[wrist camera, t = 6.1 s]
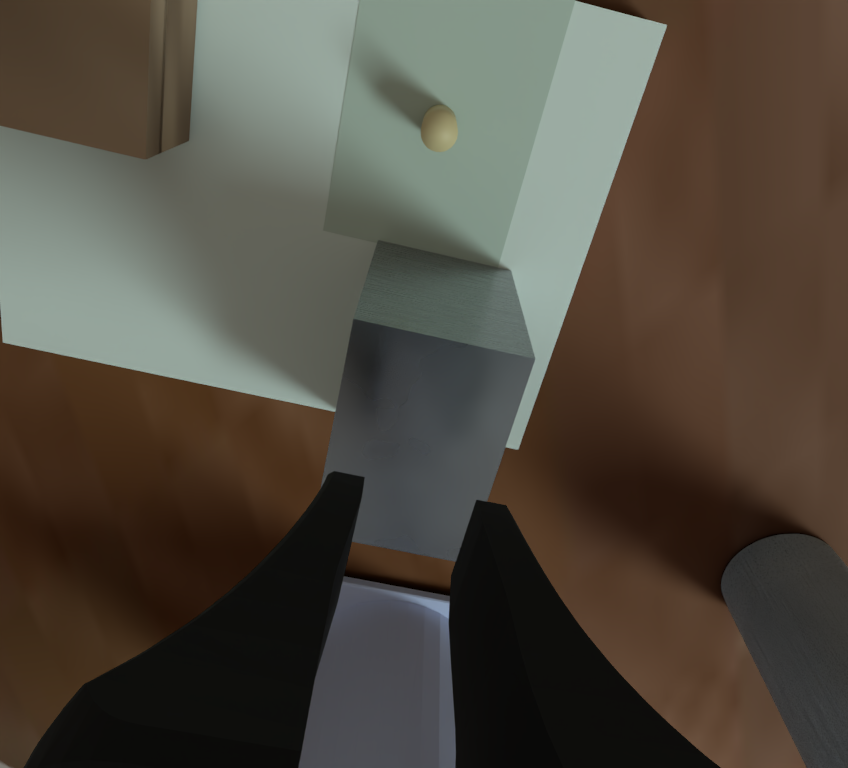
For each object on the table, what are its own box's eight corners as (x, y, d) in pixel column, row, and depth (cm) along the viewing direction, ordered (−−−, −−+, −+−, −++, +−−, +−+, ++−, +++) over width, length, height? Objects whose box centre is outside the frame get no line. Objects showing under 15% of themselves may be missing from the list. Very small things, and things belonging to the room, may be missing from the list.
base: (514, 431, 24) (524, 485, 21) (23, 327, 22) (-37, 370, 20) (655, 21, 18) (695, 19, 15) (-4, -155, 16) (-97, -193, 14)
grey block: (460, 437, 23) (465, 563, 17) (343, 413, 22) (311, 533, 17) (510, 270, 20) (535, 358, 15) (378, 239, 20) (353, 318, 14)
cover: (188, 141, 18) (145, 159, 16) (-1, 95, 18) (-79, 107, 15) (202, -76, 16) (153, -98, 13) (-15, -134, 16) (-111, -168, 13)
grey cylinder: (758, 518, 25) (934, 792, 16) (862, 549, 26) (1089, 830, 17) (698, 601, 27) (825, 886, 18) (796, 628, 28) (967, 918, 19)
